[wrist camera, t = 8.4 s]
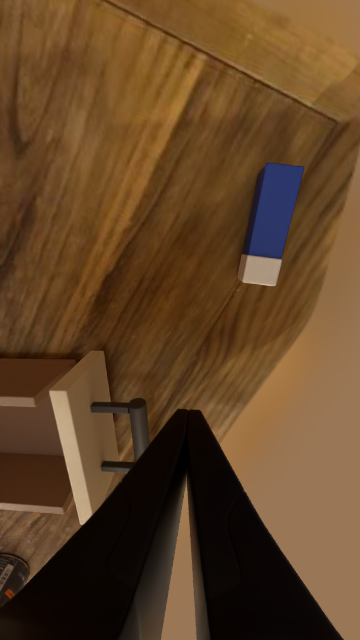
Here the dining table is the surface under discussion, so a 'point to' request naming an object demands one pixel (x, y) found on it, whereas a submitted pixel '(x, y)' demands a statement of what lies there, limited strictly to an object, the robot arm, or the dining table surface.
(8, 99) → the dining table surface
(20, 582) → the pill bottle
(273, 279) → the eraser
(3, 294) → the dining table surface
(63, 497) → the drawer
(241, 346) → the dining table surface
